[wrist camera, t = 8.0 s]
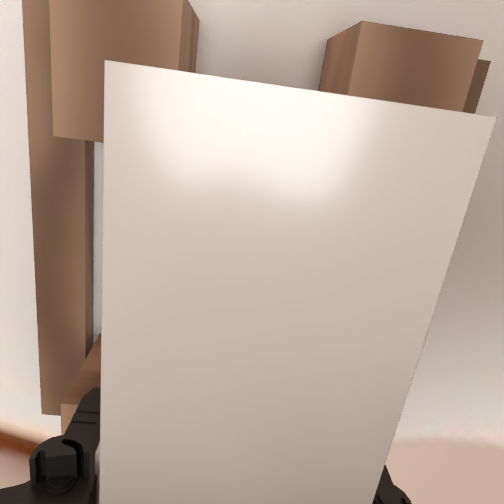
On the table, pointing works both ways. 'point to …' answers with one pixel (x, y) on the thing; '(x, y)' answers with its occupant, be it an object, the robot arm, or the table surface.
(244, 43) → the table surface
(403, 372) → the light grey rectangular block
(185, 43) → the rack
